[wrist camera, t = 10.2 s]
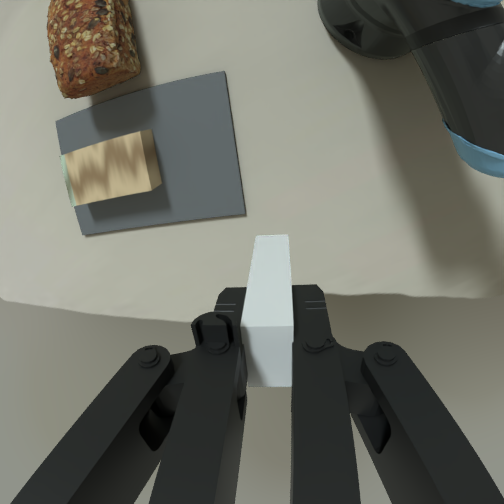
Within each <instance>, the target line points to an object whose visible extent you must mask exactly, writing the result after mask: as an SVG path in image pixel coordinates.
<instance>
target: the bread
mask: <svg viewBox="0 0 504 504" xmlns="http://www.w3.org/2000/svg"><path fill="white" fill-rule="evenodd" d="M128 2H129V0H51V2H50V6H49V7H48V16H47V17H48V22H47V30H48V36H47V37H48V39H49V47H50V53H51V56H50V62H51V63H52V64H53V67H54V70H55V73H56V79H57V84H58V87H59V90H60V91H61V92H62V95H63V97H65V98H71V99H73V98H75V99H77V98H80V97H84V96H86V97H87V96H88V95H89V96H91V95H93V94H96V93H98V92H100V91H103V90H105V89H107V88H110V87H112V86H114V85H116V84H119V83H122V82H124V81H127V80H129V79H131V78H133V77H135V76H137V75H139V74H140V70H141V65H140V62H139V60H138V54H137V50H136V40H135V35H134V27H133V23H132V16H131V11H130V7H129V4H128Z"/></svg>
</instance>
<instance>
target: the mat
mask: <svg viewBox="0 0 504 504" xmlns="http://www.w3.org/2000/svg"><path fill="white" fill-rule="evenodd" d="M55 122H56V128H57V134H58V139H59V144H60V150H61V155H64V154H67V153H70V152H72V151H75V150H78V149H81V148H84V147H87V146H90V145H94V144H97V143H100V142H103V141H107V140H110V139H113V138H117V137H120V136H124V135H128V134H131V133H135V132H139V131H144V130H150V129H152V134H153V140H154V145H155V151H156V156H157V161H158V166H159V171H160V176H161V181H162V184H160V185H159V186H158V187H156V188H155V189H153V190H152V191H146V192H141V193H135V194H130V195H125V196H120V197H115V198H110V199H105V200H100V201H96V202H91V203H87V204H82V205H78V206H74V208H75V212H76V215H77V219H78V222H79V225H80V229H81V232H82V235H88V234H94V233H101V232H107V231H114V230H121V229H127V228H134V227H142V226H149V225H156V224H164V223H171V222H179V221H187V220H195V219H203V218H212V217H221V216H229V215H239V214H245V213H246V212H245V205H244V198H243V192H242V185H241V178H240V171H239V164H238V158H237V151H236V144H235V137H234V130H233V124H232V117H231V110H230V103H229V96H228V90H227V83H226V76H225V71H221V72H216V73H210V74H205V75H200V76H195V77H191V78H186V79H182V80H177V81H173V82H169V83H165V84H161V85H158V86H154V87H150V88H147V89H143V90H140V91H136V92H133V93H130V94H127V95H124V96H121V97H117V98H114V99H112V100H109V101H106V102H103V103H100V104H97V105H95V106H92V107H89V108H87V109H84V110H82V111H79V112H77V113H74V114H72V115H69V116H67V117H65V118H62V119H60V120H58V121H55Z"/></svg>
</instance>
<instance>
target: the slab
mask: <svg viewBox="0 0 504 504" xmlns="http://www.w3.org/2000/svg"><path fill="white" fill-rule="evenodd" d="M60 160H61V165H62V169H63V174H64V178H65V182H66V186H67V190H68V194H69V198H70V202H71V205H72V207H73V206H78V205H82V204H87V203H91V202H96V201H100V200H105V199H110V198H115V197H120V196H125V195H130V194H135V193H141V192H146V191H152V190H153V189H155V188H156V187H158V186H159V185H160V184H162V181H161V176H160V171H159V166H158V161H157V156H156V151H155V145H154V140H153V134H152V129H150V130H144V131H139V132H135V133H131V134H128V135H124V136H120V137H117V138H113V139H110V140H107V141H103V142H100V143H97V144H94V145H90V146H87V147H84V148H81V149H78V150H75V151H72V152H70V153H67V154H64V155H61V156H60Z"/></svg>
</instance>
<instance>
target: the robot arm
mask: <svg viewBox="0 0 504 504" xmlns="http://www.w3.org/2000/svg"><path fill="white" fill-rule="evenodd" d="M501 1H503V0H318V2H317V3H318V11H319V14H320V17H321V19H322V21H323V23H324V25H325V27H326V28H327V30H328V31H329V32H330V33H331V34H332V36H333V37H334V38H335V39H336V40H338V41H339V42H340V43H341V44H342V45H344V46H345V47H347V48H348V49H350V50H352V51H354V52H356V53H358V54H360V55H363V56H366V57H370V58H375V59H392V58H396V57H399V56H402V55H405V54H407V53H409V52H412V53H413V55H414V57H415V59H416V61H417V63H418V65H419V67H420V69H421V71H422V73H423V75H424V77H425V79H426V81H427V83H428V85H429V87H430V89H431V92H432V94H433V96H434V98H435V101H436V103H437V105H438V108H439V110H440V112H441V115H442V117H443V118H442V121H443V124H444V126H445V128H446V129H447V131H448V132H449V133H450V136H451V138H452V140H453V143H454V145H455V148H456V151H457V153H458V154H459V156H460V157H461V159H462V160H464V161H465V162H466V163H467V164H468V165H469V166H470V167H472V168H473V169H475V170H477V171H479V172H481V173H484V174H487V175H490V176H495V177H500V178H504V8H503V6H502V5H501V3H500V2H501ZM476 29H477V30H476ZM469 31H470V32H469ZM462 33H463V34H462ZM455 35H456V36H455ZM452 36H453V37H452ZM449 37H450V38H449ZM446 38H447V39H446ZM443 39H444V40H443ZM440 40H441V41H440ZM437 41H438V42H437ZM434 42H435V43H434ZM431 43H432V44H431ZM428 44H429V45H428ZM425 45H426V46H425ZM422 46H423V47H422ZM417 48H418V49H417ZM191 328H192V332H193V335H194V339H195V344H196V348H195V349H193V350H191V351H187V352H183V353H178V354H173V355H170V353H169V352H168V350H167V349H166V348H164V347H162V346H158V345H150V346H145V347H143V348H140V349H138V350H137V351H136V352H135V353H133V354H132V356H131V357H130V358H129V359H128V360H127V361H126V363H125V364H124V365H123V366H122V367H121V368H120V369H119V371H118V372H117V373H116V374H115V375H114V377H113V378H112V379H111V380H110V381H109V382H108V384H107V385H106V386H105V387H104V389H103V390H102V391H101V392H100V393H99V394H98V396H97V397H96V398H95V399H94V400H93V402H92V403H91V404H90V405H89V407H88V408H87V409H86V410H85V411H84V412H83V414H82V415H81V416H80V417H79V418H78V420H77V421H76V422H75V423H74V425H73V426H72V427H71V428H70V429H69V431H68V432H67V433H66V434H65V436H64V437H63V438H62V439H61V440H60V442H59V443H58V444H57V445H56V446H55V448H54V449H53V450H52V452H51V453H50V454H49V455H48V456H47V458H46V459H45V460H44V461H43V463H42V464H41V465H40V467H39V468H38V469H37V470H36V471H35V473H34V474H33V475H32V477H31V478H30V479H29V480H28V482H27V483H26V484H25V486H24V487H23V488H22V489H21V491H20V492H19V493H18V495H17V496H16V497H15V498H14V500H13V501H12V502H11V504H134V502H135V501H136V499H137V498H138V496H139V494H140V492H141V491H142V490H143V488H144V486H145V485H146V483H147V482H148V480H149V478H150V477H151V475H152V474H153V472H154V470H155V469H156V467H157V465H158V464H159V462H160V460H161V462H160V466H159V469H158V472H157V476H156V479H155V483H154V486H153V490H152V494H151V497H150V501H149V504H235V496H236V488H237V481H238V473H239V465H240V457H241V448H242V440H243V432H244V423H245V415H246V406H247V394H246V386H247V382H248V386H249V387H292V400H291V412H292V426H291V428H292V431H291V432H292V433H291V437H292V438H291V490H290V504H361V501H360V491H359V482H358V481H359V480H358V471H357V463H356V455H355V447H354V440H353V432H352V425H351V418H350V413H351V416H352V418H353V420H354V422H355V424H356V427H357V429H358V431H359V433H360V435H361V437H362V439H363V442H364V444H365V446H366V448H367V450H368V452H369V454H370V456H371V459H372V461H373V463H374V465H375V467H376V470H377V472H378V474H379V476H380V478H381V480H382V483H383V485H384V487H385V489H386V491H387V494H388V496H389V498H390V500H391V502H392V504H504V498H503V496H502V495H501V493H500V491H499V489H498V488H497V486H496V484H495V483H494V481H493V479H492V478H491V476H490V474H489V473H488V471H487V470H486V468H485V466H484V465H483V463H482V461H481V460H480V458H479V457H478V455H477V453H476V452H475V450H474V449H473V447H472V446H471V445H470V443H469V441H468V440H467V438H466V436H465V435H464V434H463V432H462V431H461V429H460V428H459V426H458V425H457V423H456V422H455V420H454V419H453V417H452V416H451V414H450V413H449V411H448V410H447V408H446V407H445V406H444V404H443V403H442V401H441V400H440V399H439V397H438V396H437V394H436V393H435V391H434V390H433V389H432V387H431V386H430V384H429V383H428V382H427V380H426V379H425V378H424V376H423V375H422V373H421V372H420V371H419V369H418V368H417V367H416V365H415V364H414V363H413V361H412V360H411V359H410V357H409V356H408V355H407V353H406V352H405V351H404V350H403V349H402V348H401V347H400V346H398V345H396V344H394V343H391V342H384V341H383V342H376V343H373V344H371V345H369V346H368V347H367V349H366V350H365V351H364V352H363V351H357V350H352V349H348V348H345V347H343V346H341V345H340V344H338V343H337V342H336V340H335V338H334V337H333V336H332V333H331V328H330V322H329V317H328V313H327V309H326V303H325V298H324V293H323V291H322V290H321V289H320V288H319V287H318V286H317V285H316V284H314V285H291V269H290V253H289V239H288V235H261V236H256V239H255V245H254V251H253V256H252V262H251V268H250V273H249V279H248V285H247V287H236V288H225V289H224V290H223V291H222V292H221V293H220V294H219V296H218V299H217V302H216V305H215V309H214V312H208V313H205V314H202V315H200V316H199V317H197V318H196V319H194V321H193V322H192V324H191Z"/></svg>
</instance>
